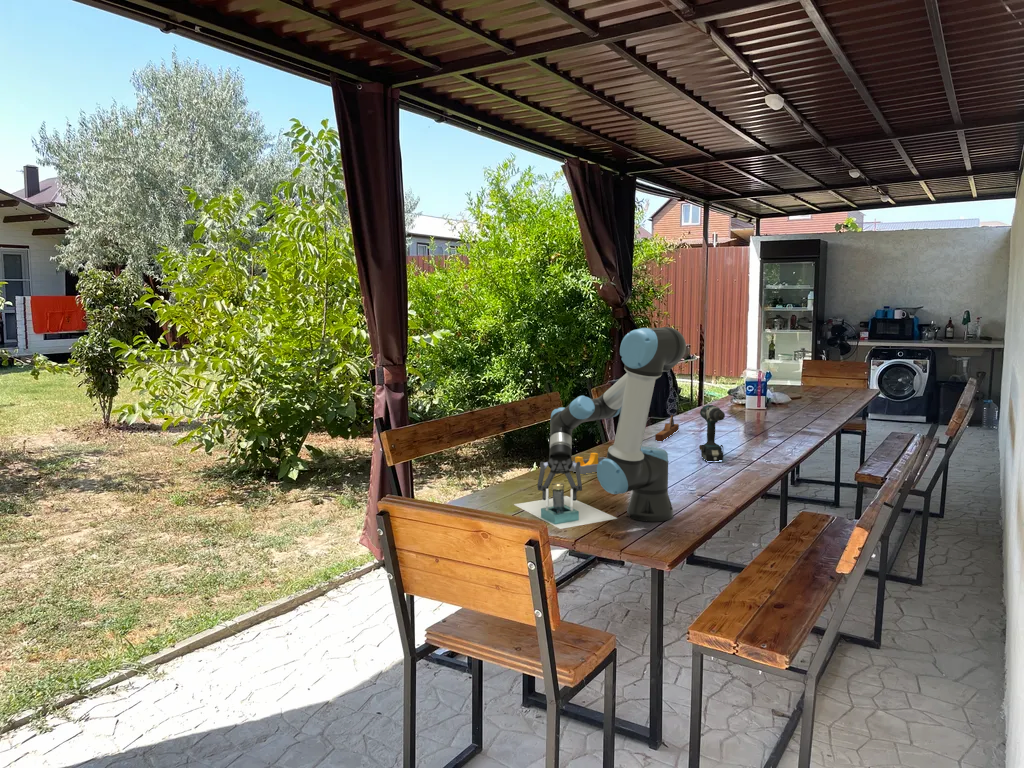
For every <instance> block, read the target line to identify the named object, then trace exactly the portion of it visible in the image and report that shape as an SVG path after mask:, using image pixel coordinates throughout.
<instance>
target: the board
mask: <svg viewBox="0 0 1024 768" xmlns="http://www.w3.org/2000/svg"><path fill="white" fill-rule="evenodd" d="M570 499H571V496H568V495H564V505H566V506H569V507H570ZM513 505H514V506H515V507H516V508H517V507H518V509H519V508H520V509H522V510H523V511H525V512H527V513H530V514H531V515H532V516H534V517H537V518H539V519H540V520H542V521H544V522H546V523H548V524H550V525H551V526H554V527H555V528H557V529H558V530H559V529H560V530H562V529H568V528H572V527H579V526H584V525H589V524H595V523H596V524H597V523H602V522H606V521H612V520H613V521H614V520H617V519H619V518H618V517H616V516H613V515H612V514H610V513H607V512H604V511H603V510H600V509H598V508H595V507H594V506H592V505H589V504H586V503H584V502H582V501H579V500H578V499H576V501H573V509H575V510H577V511H579V520H577V521H571V522H566V523H560V524H553V523H551V522H549V521H547V520H545V519H544V518H542V517H541V508H546V507H545V506H546V500H543V499H540V500H539V499H538V500H533V501H527V502H525V501H524V502H519V503H514V504H513ZM548 507H553V497H552V498H549V501H548Z"/></svg>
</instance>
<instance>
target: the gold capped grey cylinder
mask: <svg viewBox="0 0 1024 768" xmlns="http://www.w3.org/2000/svg"><path fill="white" fill-rule="evenodd" d="M551 490H552V498H553V512H555V513H561V512H564V496H565V491H564V490H565V483H563V482H555V483H554V482H553V483H551Z"/></svg>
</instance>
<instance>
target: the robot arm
mask: <svg viewBox="0 0 1024 768" xmlns="http://www.w3.org/2000/svg"><path fill="white" fill-rule="evenodd" d="M686 349H687V343H686V339H685V337H684V335H683V334H682V333H681V332H680V331H679V330H677V329H675V328H673V327H669V326H665V327H664V326H663V327H640V328H637V329H633V330H630V331H629V332H627V334H625V335H624V337H622V340H621V343H620V347H619V355H620V357H621V361H622V363H623V364H624V367H623V369H624V370H625V372H626V373H625V374H624V375H623V376H621V377H620V378H619V379H618V380H617V381H616V382H614V384H613V385H611V386H610V387H608V389H607V390H605V392H604V393H602V394H601V395H600V396H599V397H595V398H590V397H588V396H585V395H579V396H577V397H576V398H574V399H573V400H572V401H571V402H570V403H569V404H568V405H566V407H557V408H554V409H553V410H552V411H551V414H550V419H549V420H550V421H549V424H550V427H549V428H550V429H549V430H550V431H549V432H550V433H549V455H548V456H549V457H548V461H546V462H544V461H540V462H539V465H540V466H539V467H540V471H539V476H538V481H537V490H538V491H541V492H542V500H546V506H545V507H546V510H548V501H549V499H550V498H549V497H550V496H549V495H550V494H549V493H550V492H549V487H550V486H551V484H552V481H553V479H554V478H555V476H556V475H558V474H561V475H565V477H566V478H567V482H568V483H569V485H570V497H571V499H570V509H571V511H573V501H576V500H578V499H577V498H578V497H577V495H578V494H577V493H578V492H582V491H583V483H582V478H581V477H582V475H580V462H577V463H574V462H573V461H574V460H572V452H573V451H572V449H573V448H572V445H573V442H572V441H573V438H572V437H573V435H572V434H573V431H574V430H575V429H576V428H577V427H579V425H581V424H582V423H586V422H593V421H598V420H604V419H605V420H606V419H612V418H615V417H617V416H618V415H619V417H618V423H617V427H616V434H615V438H614V442H613V444H612V445H610V446H609V447H608V449H607V452H606V453H607V454H606V459H603V460H602V461H600V462H599V464H598V466H597V473H596V477H597V480H598V482H599V484H600V486H601V487H602V489H603V490H604V491H606V492H607V493H608V494H612V495H621V494H625V493H628V492H631V491H632V493H631V495H630V499H629V502H628V506H627V508H626V509H627V512H626V513H627V514H628V515H627V517H629V518H630V519H633V520H635V521H640V522H651V523H652V522H653V523H654V522H664V521H668V520H671V519H672V518H673V517H674V510H673V505H672V502H671V499H670V496H669V463H670V462H669V456H668V455H669V453H668V452H667V450H665V449H663V448H659V447H653V446H643V440H644V437H645V433H646V427H647V422H648V418H649V412H650V408H651V404H652V403H651V402H652V397H653V393H654V389H655V388H654V387H655V384H656V380H658V379H659V378H661V376H662V375H663V372H669V371H671V369H673V368H674V367H675V366H677V365H678V364H679V362H681V361H682V359H683V358H684V356H685V354H686ZM572 466H573V467H574V469H575V470H576V473H575V475H576V476H575V477H576V482H577V484H576V483H575V481H574V478H573V476H572V474H571V471H569V469H570V468H571V467H572ZM547 467H548V468H550V471H549V474H548V475H547V477H546V479H545V481H544V478H545V471H546V470H547ZM543 482H544V484H543Z"/></svg>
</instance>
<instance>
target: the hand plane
mask: <svg viewBox="0 0 1024 768" xmlns="http://www.w3.org/2000/svg"><path fill="white" fill-rule="evenodd" d="M679 427H680V426H679V423H675V420H674V415H673V414H672V415H670V418H669V422H668V423H665V424H664V427H663V429H662V430H661V431H659V432H657V433H655V434H654V437H655V438H654V439H655V440H657V441H663V440H664V439H666V438H667V437H669V436H670V435H672V434H673V433H674V432H676V431H677V430H678V429H679V430H680V428H679ZM672 436H673V435H672ZM669 438H670V437H669Z"/></svg>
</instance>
